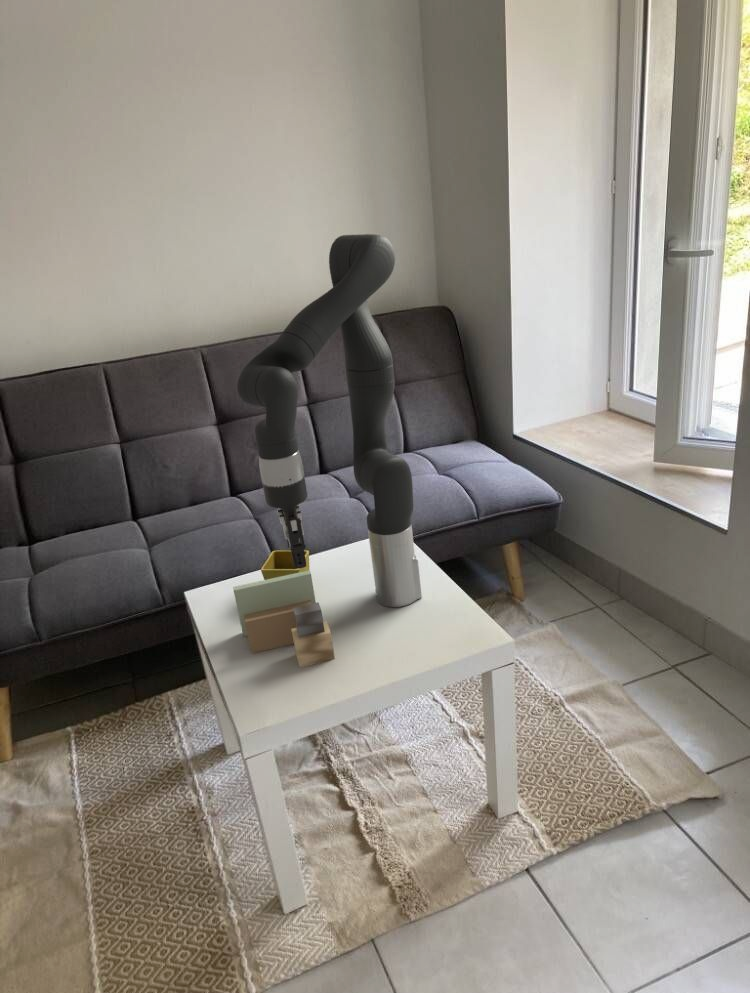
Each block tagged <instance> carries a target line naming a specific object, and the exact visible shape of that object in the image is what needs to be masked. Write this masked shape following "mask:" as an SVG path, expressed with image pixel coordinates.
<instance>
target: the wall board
mask: <svg viewBox="0 0 750 993" xmlns="http://www.w3.org/2000/svg"><path fill="white" fill-rule="evenodd" d="M232 588H233V594H234V598H235V605H236V608H237V613H238V617H239V623H240V627H241V631H242V632H241V633H242V636H243V637H246V636H247V638H248V639H247V640H248V644H249V648H250V653H251V654H255V653H259V652H263V651H268V650H272V649H276V648H280V647H286V646H289V645H292V644H293V645H294V641H293V636H292V630H291V629H293V628H297V627H296V622H295V616H294V611H293V608H295V607H299V606H304V605H308V604H313V603H317V602H316V596H315V590H314V584H313V577H312V572H311V570H310V569H309V571H304V572H300V573H295V574H290V575H286V576H281V577H277V578H272V579H267V580H264V579H262V580H260V581H255V582H249V583H245V584H242V585H241V584H240V585H236V586H232Z"/></svg>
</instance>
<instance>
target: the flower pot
mask: <svg viewBox="0 0 750 993" xmlns="http://www.w3.org/2000/svg"><path fill="white" fill-rule="evenodd" d="M304 553H305V559H306V567H304V568H299V569H295V567H294V563H293V558H292V552H291V550H273V551H271V553H270V555H269V556H268V558H267V559H266V561H265V562H264V564H263V565H262V567H261V568H260V572H261V575H262V578H263V580H267V579H272V578H277V577H281V576H286V575H290V574H295V573H300V572H304V571H309V570H310V550H306V549H305V550H304Z"/></svg>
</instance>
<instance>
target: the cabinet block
mask: <svg viewBox="0 0 750 993" xmlns="http://www.w3.org/2000/svg"><path fill="white" fill-rule="evenodd" d="M293 611H294V616H295V622H296V627H297V628H293V629H291V630H292V636H293V641H294V644H293V645H294V652H295V656H296V660H297V664H298V667H299V668H303V667H307V666H311V665H316V664H320V663H323V662H328V661H332V660H335V659H336V657H335V656H336V655H335V651H334V646H333V639H332V633H331V630H330V627H329V625H328V621H327V620H323V613H322V607H321V605H320V603H319V601H318V602H316V603H313V604H308V605H304V606H299V607H295V608H293Z"/></svg>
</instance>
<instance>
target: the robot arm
mask: <svg viewBox="0 0 750 993" xmlns="http://www.w3.org/2000/svg"><path fill="white" fill-rule="evenodd" d="M328 256H329V257H328V265H329V266H328V267H329V274H330V279H331V283H332V288H330V289H329V290H328V291H327V292H325V293H323V294H322V295H320V297H317V299H315V300H313V301H312V302H310V303H309V304H307V305H306V306H305V307H304V308H303V309H301V310H300V312H298V313H297V314H296V315H295V316H294V317H293V318H292V319H291V320H290V322H289V323H288V324H287V326H286V327H285V328H284V330H283V331H281V334H280V335H279V336H278V337H277V338H276V340H275V341H274V342H273V343H271V344H270V345H268V346H266V348H264V349H263V350H262V351H260V353H258V354H257V355H256V356H255V357H253V358H252V359H251V360H249V362H248V363H247V364H246V365H245V366H244V368H242V370H241V372H240V374H239V376H238V379H237V384H236V385H237V386H236V389H237V394H238V396H239V397H240V399H241V401H242V402H244V403H246V404H248V405H250V406H256V407H261V408H265V418H264V419H261V420H260V421H258V422H257V423H256V425H255V427H254V438H255V443H256V450H257V454H258V455H257V456H258V465H259V472H260V479H261V483H262V488H263V494H264V500H265V503H266V505H268V507H271V508H274V509H276V510H277V516H278V518H279V522H280V525H281V526H282V531H283V535H284V538H285V540H286V543H287V548H288V549H289V551H291V552H292V558H293V563H294V567H295V569H299V568H304V567H306V559H305V553H304V550H306V544H305V540H304V539H305V538H304V535H305V531H304V527H303V523H302V520H303V516H302V512H301V510H300V504H303V503H304V502H305V501H306V500H307V499H308V489H307V485H306V484H307V483H306V479H305V473H304V466H303V461H302V456H301V453H300V450H299V444H298V439H297V438H298V437H297V433H296V421H297V413H298V412H297V410H298V400H299V399H298V398H299V388H298V385H297V381H296V379H295V377H294V375H293V374H292V373H295V372H297V373H298V372H301V371H304V370H305V369H307V368H308V367H309V365H311V363H312V362H313V361H314V360H315V358H316V357H317V355H318V354H319V353H320V352H321V350H322V349H323V348H324V346H325V345H326V343H328V341H329V340H330V339H331V337H332V336H333V335H334V334H335V332H336V331H337V330H338V329H339V328H340V330H341V337H342V345H343V346H342V347H343V352H344V365H345V366H344V367H345V374H346V383H347V390H348V396H349V405H350V416H351V422H352V423H351V424H352V438H353V439H352V441H353V444H352V445H353V446H352V448H353V449H352V450H353V451H352V452H353V453H352V454H353V456H352V457H353V459H352V461H353V462H352V463H353V465H352V466H353V475H354V478H355V482H356V483H357V485H358V487H360V488H361V490H363V491H365V492H366V493H369V495H372V496H373V503H374V508H373V509H371V510H370V511H369V512H368V514H367V516H366V526H367V532H368V540H369V549H370V555H371V556H370V557H371V564H372V572H373V579H374V586H375V595H376V600H377V602H378V603H379V604H381V605H382V606H385V607H390V608H400V607H405V606H408V605H410V604H413V603H414V602H415V601H417V600H419V599H422V598H423V596H422V595H423V594H422V586H421V578H420V576H421V575H420V568H419V567H420V566H419V560H418V557H417V556H416V554H415V546H414V536H413V534H414V533H413V527H412V515H413V512H414V488H413V476H412V471H411V468H410V465H409V463H408V461H406V460H405V459H403V458H402V457H400V456H399V455H398V456H397V455H395V454H393V453H391V452H389V450H388V445H387V439H386V438H387V437H386V428H385V427H386V418H387V414H388V411H389V409H390V406H391V404H392V400H393V396H394V392H395V386H396V385H395V373H394V372H395V371H394V361H393V354H392V351H391V349H390V347H389V344H388V343H387V341H386V338H385V337H384V335H383V333H382V332H381V330H380V329H379V326H378V325H377V323H376V321H375V320H374V317H373V316H372V315H373V314H372V313H371V311H370V307H369V302H368V299H369V298H370V297H372V296H373V295H374V294H375V293H376V292H377V291H378V290H379V289H380V288H381V287H382V286H384V284H385V283H386V282H388V280H389V278H390V277H391V275H392V273H393V271H394V269H395V265H396V254H395V249H394V246H393V245H392V243H391V241H390V240H389V239H388V238H387V237H385V236H383V235H380V234H372V233H371V234H370V233H365V234H363V233H362V234H344V235H340V236H337V238H335V239H334V241H333V242H332V244H331V246H330V249H329V254H328Z"/></svg>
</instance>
